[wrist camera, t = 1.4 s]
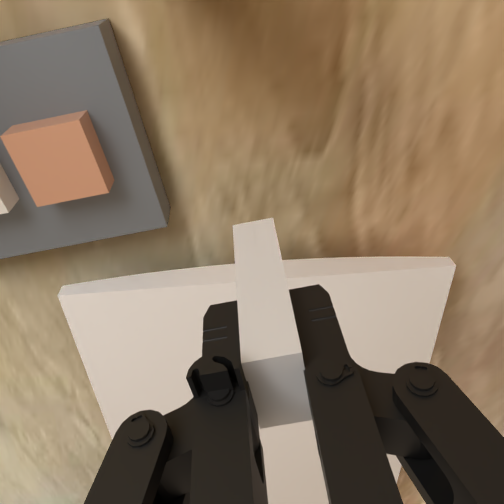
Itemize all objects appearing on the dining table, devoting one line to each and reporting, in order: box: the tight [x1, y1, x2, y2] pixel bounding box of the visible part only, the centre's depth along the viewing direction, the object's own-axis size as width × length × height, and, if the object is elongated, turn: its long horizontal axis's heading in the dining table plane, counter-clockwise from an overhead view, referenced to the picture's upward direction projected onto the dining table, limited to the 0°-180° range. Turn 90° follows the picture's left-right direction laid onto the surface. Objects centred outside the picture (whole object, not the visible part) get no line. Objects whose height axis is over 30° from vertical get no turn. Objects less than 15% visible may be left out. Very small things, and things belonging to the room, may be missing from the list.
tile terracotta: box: [0, 110, 114, 207], centre depth 29 cm, size 5×5×2 cm
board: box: [58, 256, 456, 504], centre depth 50 cm, size 45×32×5 cm
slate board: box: [0, 18, 170, 259], centre depth 31 cm, size 14×18×3 cm
